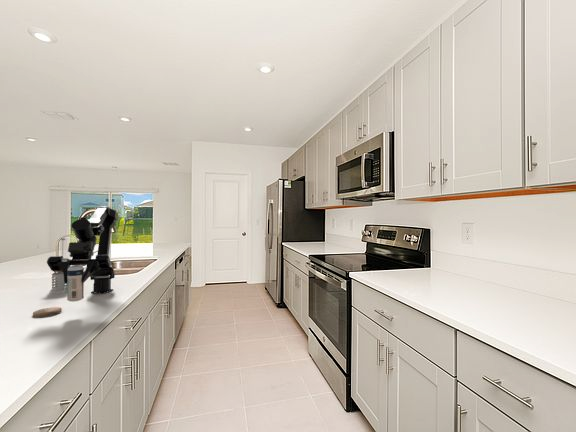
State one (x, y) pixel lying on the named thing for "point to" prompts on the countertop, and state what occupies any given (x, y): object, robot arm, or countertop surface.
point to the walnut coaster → (47, 312)
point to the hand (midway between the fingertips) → (74, 282)
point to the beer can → (75, 283)
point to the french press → (58, 279)
